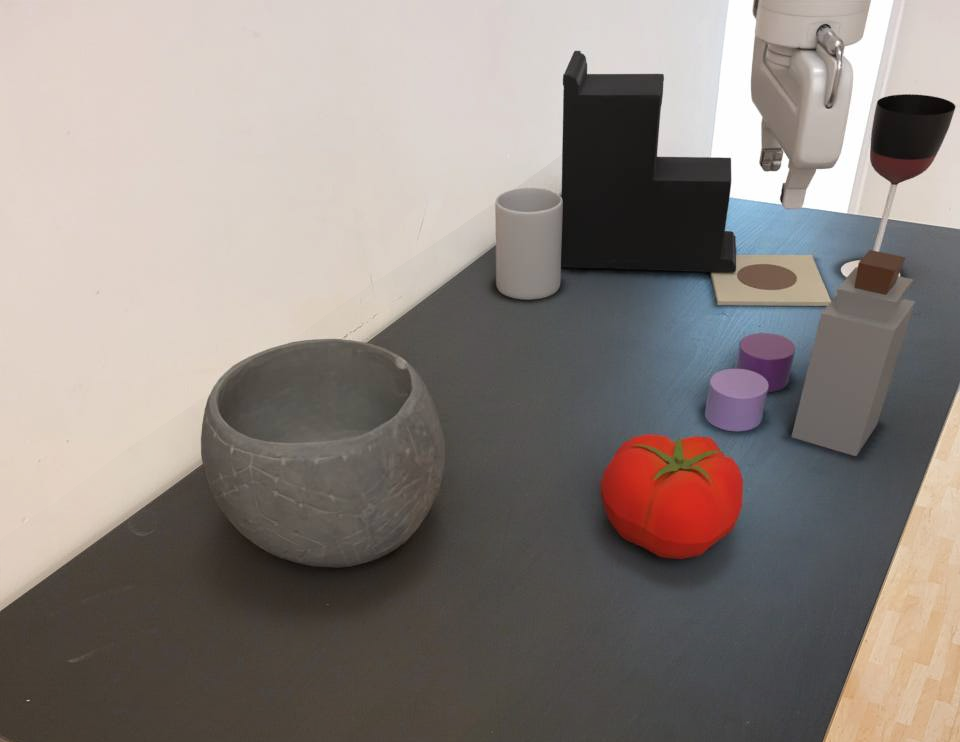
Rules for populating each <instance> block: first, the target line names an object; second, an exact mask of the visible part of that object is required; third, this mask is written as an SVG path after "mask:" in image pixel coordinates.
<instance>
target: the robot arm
mask: <svg viewBox="0 0 960 742" xmlns="http://www.w3.org/2000/svg"><path fill="white" fill-rule="evenodd" d="M871 2H872V0H753V1H752V16H753V17H754V19H755V28H754V38H753V40H754V41H753V48H752V49H753V51H752V60H751V61H752V62H751V72H750V73H751V74H750V95H751V96H750V98H751V101H752V103H753V105H754V106H755V108H756V109H757V111H758V113H759V114H760V115H761V116H760V117H762V118H761V123H760V126H761V127H760V128H761V129H760V131H761V132H760V136H761V138H760V139H761V149H760V155H759V162H758V164H759V166H760V167H761V169H762V171H764V172H778V171H779V170H780V169H781V167H782V161H783V156H784V154H785V156H786V157H787V159H788V164H787V167H788V173H787V175H786V179H785V182H782V185H781V191H780V196H779V201H780V203H781V205H782V208H783V209H785V210H800V209H802V207H803V205H804V204H805V198H806V193H807V190H808V188H809V186H810V184H811V182H812V180H813V178H814V176H815V174H816V173H817V170H827V169H828V170H829V169H832V168H834V167H835V165H836V164H837V162H838V161H839V159H840V156H841V154H842V150H843V145H844V140H845V135H846V130H847V129H846V128H847V124H848V119H849V118H848V117H849V111H850V107H851V101H852V94H853V86H854V69H853V66H852V63H851V61H849V60H848V58H847V57H846V56H845V55H844V54H845V48H846V47H848V46H852V45H854V44H856V43H857V44H858V42H860V41H861V40H862V39H863V37H864V33H865V29H866V25H867V21H868V15H869V12H870V11H869V10H870V7H871Z"/></svg>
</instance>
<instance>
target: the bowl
mask: <svg viewBox="0 0 960 742" xmlns="http://www.w3.org/2000/svg"><path fill="white" fill-rule="evenodd" d="M446 448H447V447H446V442H445V437H444V432H443V428H442V424H441V420H440V417H439V412H438V409H437V407H436V405H435V403H434V401H433V398H432V396H431V392H430V391H429V389H428V387H427V385H426V384H425V382H424V380H423V378H422V377H421V375H420V374H419V373H418V371H417V370H416V368H414V367H413V366H412V365H411V364H410V363H409V362H408V361H407V360H405V359H404V358H403V357H401V356H400V355H399V354H397V353H395V352H393V351H391V350H389V349H387V348H385V347H382V346H379V345H376V344H373V343H368V342H362V341H358V340H351V339H343V338H342V339H341V338H317V339H316V338H315V339H305V340H297V341H292V342H288V343H284V344H281V345H277V346H274V347H270V348H268V349H267V348H266V349H265V350H262V351H260V352H257V353H255V354H252V355H249V356H248V357H246V358H244V359H241V360H240V361H238V362H237V363H235V364H233V365H232V366H231V367H230V368H229V369H228V370H227V371H225V372H224V373H223V374H222V375H221V376H220V377H219V378H218V380H217V381H216V383H214V385H213V387H212V389H211V391H210V393H209V395H208V397H207V400H206V403H205V408H204V412H203V418H202V424H201V434H200V455H201V462H202V467H203V472H204V475H205V479H206V482H207V485H208V487H209V489H210V491H211V494H212V496H213V498H214V500H215V502H216V504H217V505H218V506H219V508H220V510H221V511H222V512H223V514H224V515H225V517H226V518H227V520H228V521H229V522H230V524H232V526H234V528H235V529H236V530H237V531H238V532H239V533H240V534H241V535H242V536H243V537H245V538H246V539H247V540H249V541H250V542H251V543H252V544H254V546H257V547H258V548H260V549H262V550H263V551H265V552H266V553H268V554H270V555H272V556H275V557H278V558H280V559H283V560H287V561H290V562H293V563H297V564H300V565H304V566H310V567H318V568H338V569H339V568H348V567H349V568H350V567H355V566H359V565H362V564H366V563H370V562H373V561H375V560H379V559H380V558H382V557H384V556H387V555H389V554H391V553H392V552H394V551H396V550H397V549H398V548H399V547H400V546H402V545H404V544H405V543H406V542H407V541H409V539H410V538H411V537H412V536H413V534H415V533H416V532H417V530H418V529H419V527H420V525H421V524H422V523H423V522H424V520H425V519H426V517H427V516H428V514H429V512H430V510H431V509H432V506H433V505H434V503H435V501H436V498H437V497H438V494H439V492H440V488H441V484H442V481H443V477H444V475H443V473H444V470H445V462H446V450H447V449H446Z"/></svg>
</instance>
